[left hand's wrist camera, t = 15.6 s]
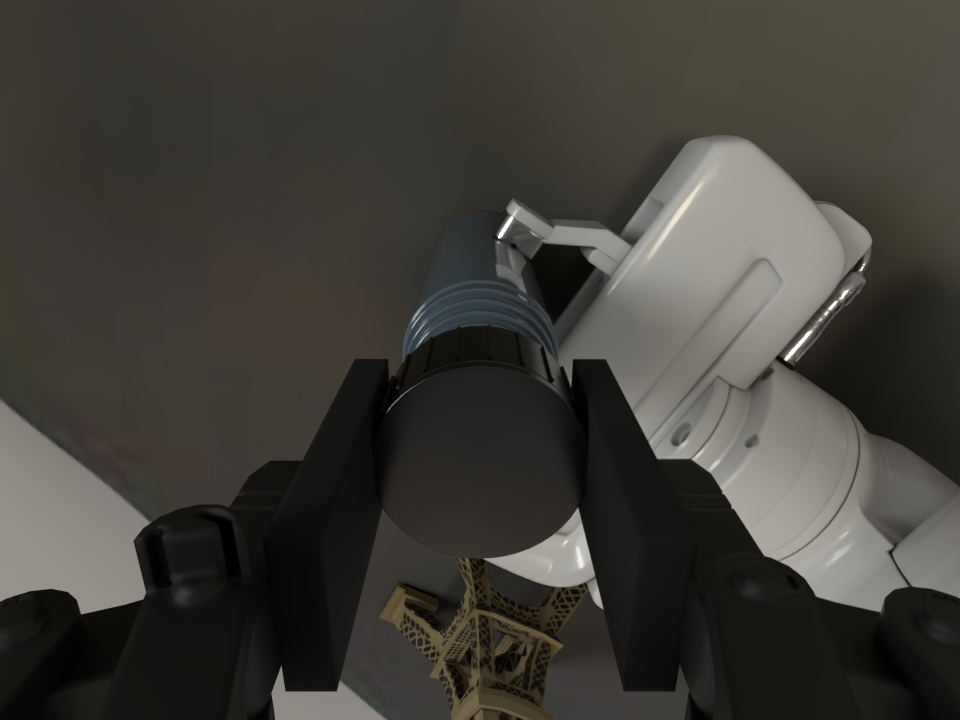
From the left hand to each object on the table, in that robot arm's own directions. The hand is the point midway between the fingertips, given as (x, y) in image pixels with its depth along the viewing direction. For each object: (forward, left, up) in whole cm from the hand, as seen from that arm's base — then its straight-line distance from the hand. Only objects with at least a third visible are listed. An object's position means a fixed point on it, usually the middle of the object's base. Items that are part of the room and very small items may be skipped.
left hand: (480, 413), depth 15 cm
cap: (0, 0, +2) cm, 2 cm away
